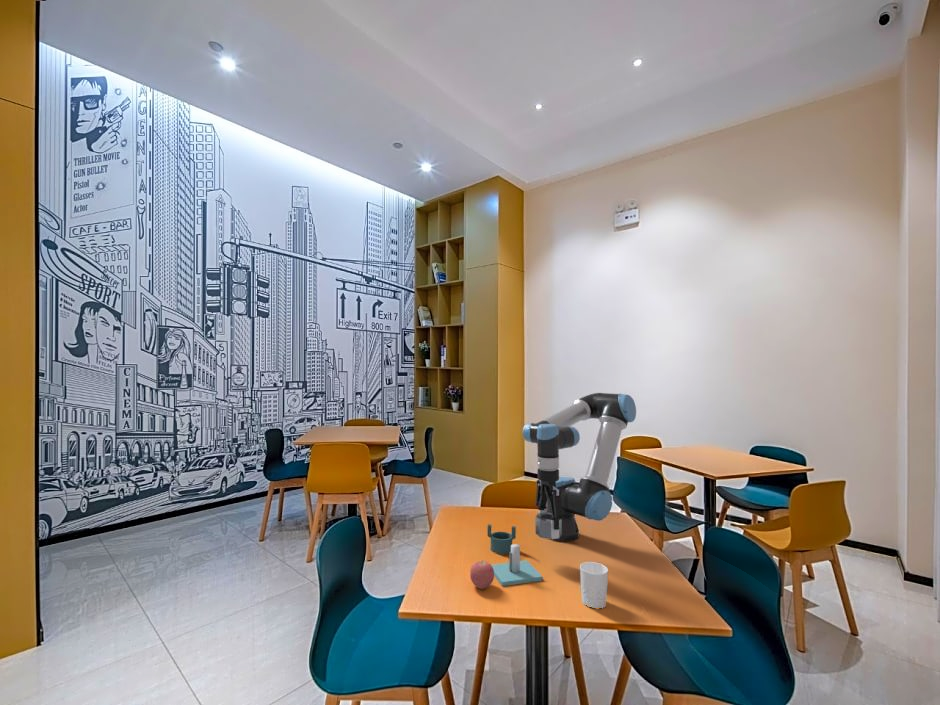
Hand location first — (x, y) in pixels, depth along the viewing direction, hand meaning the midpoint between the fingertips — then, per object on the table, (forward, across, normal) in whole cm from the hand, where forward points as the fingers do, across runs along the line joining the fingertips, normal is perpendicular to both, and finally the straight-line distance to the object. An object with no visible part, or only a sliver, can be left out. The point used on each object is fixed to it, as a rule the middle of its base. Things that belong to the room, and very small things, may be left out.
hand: (548, 533), depth 145 cm
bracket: (+11, -16, -12) cm, 22 cm away
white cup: (+10, +26, +1) cm, 28 cm away
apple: (+10, +9, -28) cm, 31 cm away
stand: (+10, +4, -15) cm, 18 cm away
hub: (0, 0, 0) cm, 0 cm away
